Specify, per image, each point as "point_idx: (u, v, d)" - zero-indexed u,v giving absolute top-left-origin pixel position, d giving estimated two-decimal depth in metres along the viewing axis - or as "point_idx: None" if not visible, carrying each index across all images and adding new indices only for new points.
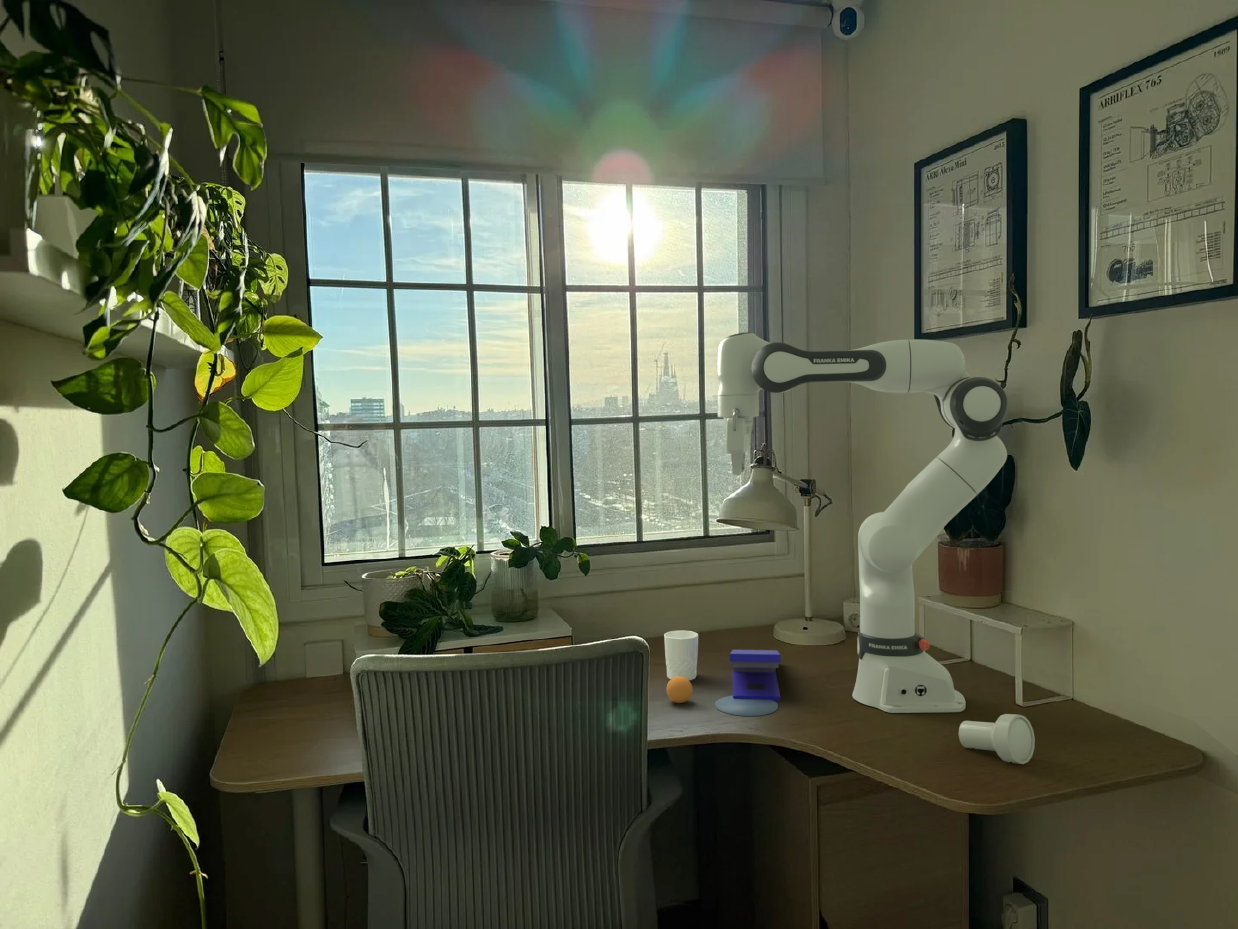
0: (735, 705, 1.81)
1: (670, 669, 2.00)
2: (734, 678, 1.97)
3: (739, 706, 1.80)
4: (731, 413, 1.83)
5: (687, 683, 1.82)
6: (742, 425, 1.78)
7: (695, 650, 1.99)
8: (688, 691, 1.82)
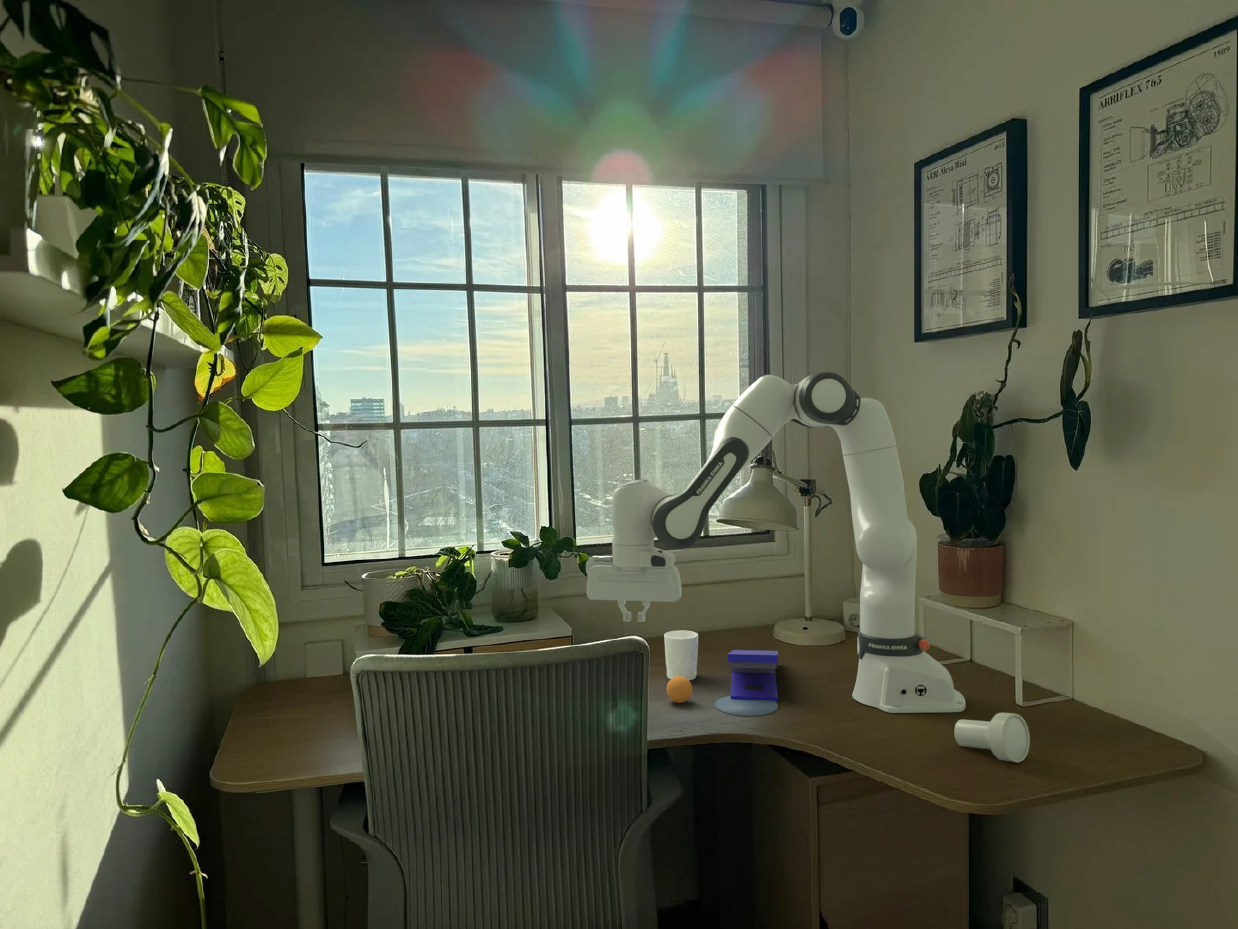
0: (735, 705, 1.81)
1: (670, 669, 2.00)
2: (733, 678, 1.97)
3: (739, 706, 1.80)
4: None
5: (687, 683, 1.82)
6: (589, 572, 1.85)
7: (695, 650, 1.99)
8: (688, 691, 1.82)
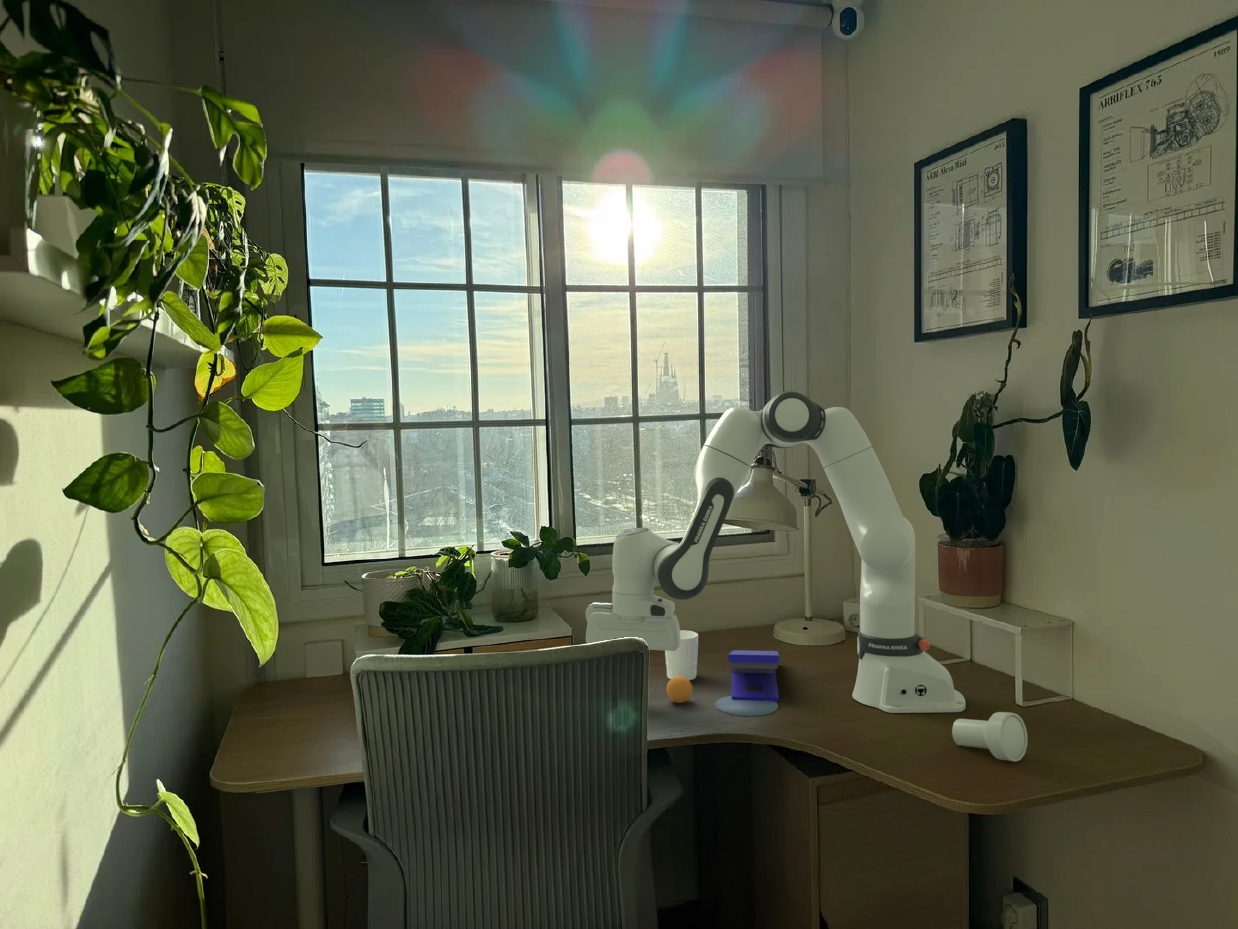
0: (735, 705, 1.81)
1: (670, 669, 2.00)
2: (733, 679, 1.96)
3: (739, 706, 1.80)
4: None
5: (687, 683, 1.82)
6: (588, 619, 1.86)
7: (695, 650, 1.99)
8: (688, 691, 1.82)
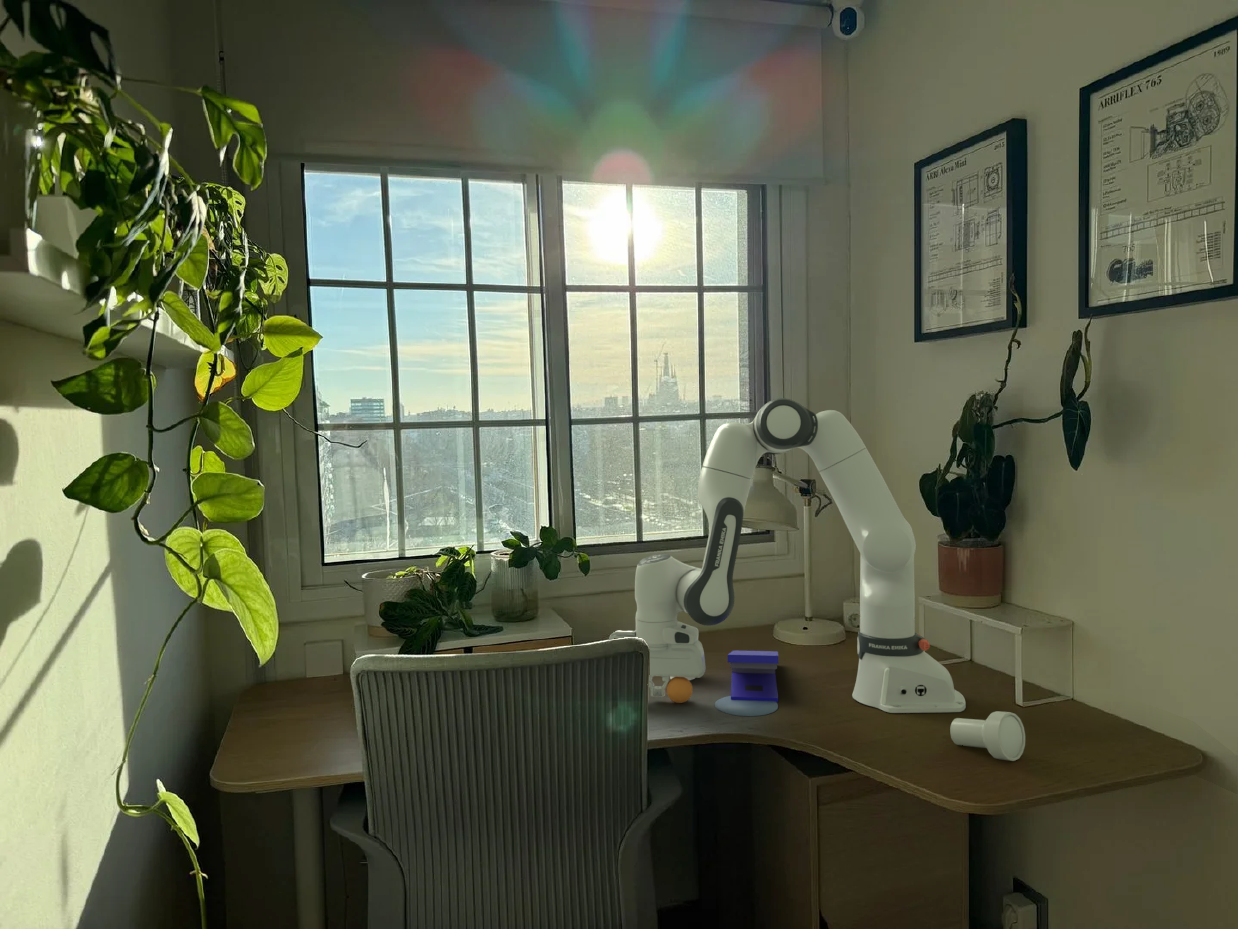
0: (735, 705, 1.81)
1: None
2: (733, 679, 1.96)
3: (739, 706, 1.80)
4: None
5: (687, 683, 1.82)
6: None
7: None
8: (688, 692, 1.82)
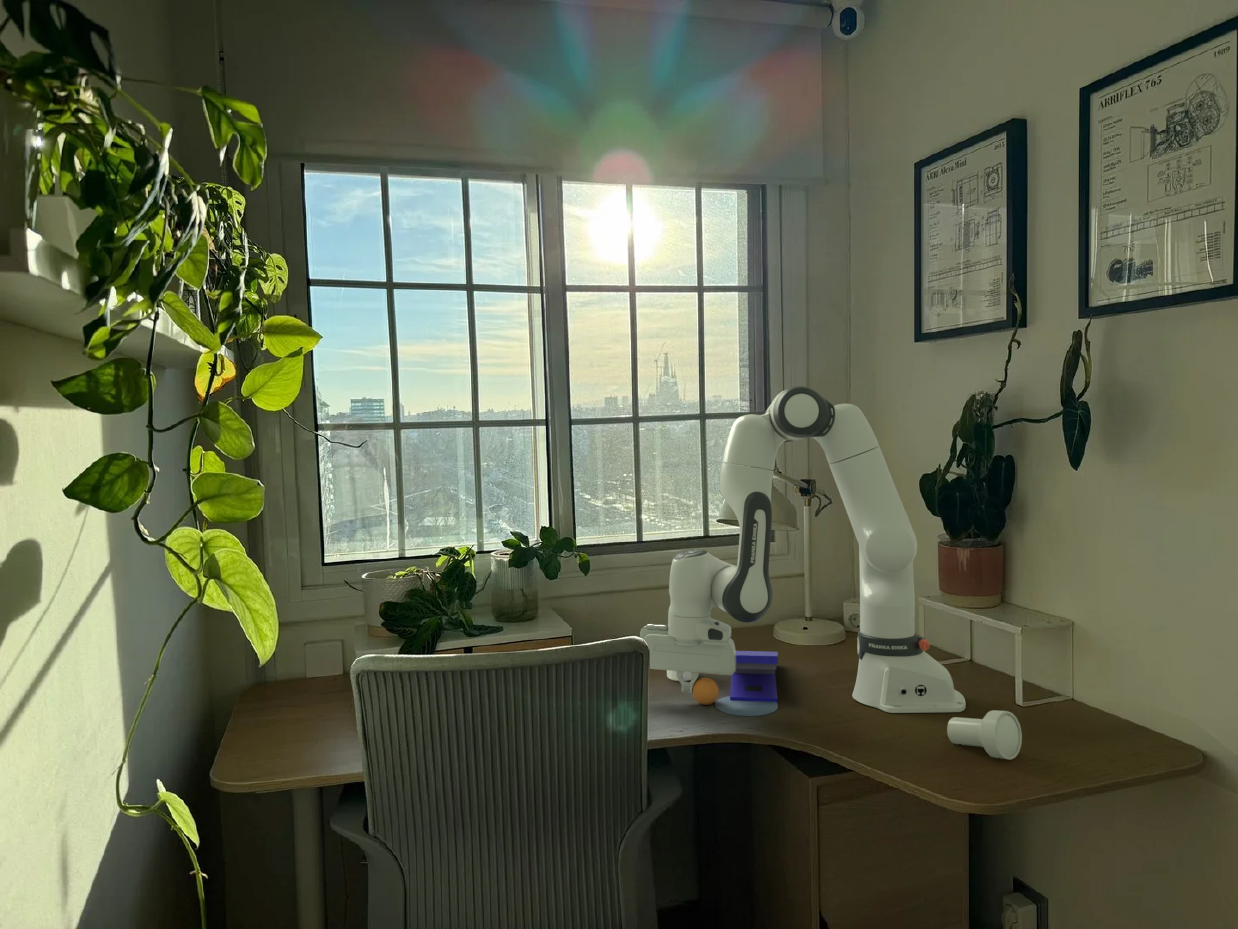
0: (735, 705, 1.81)
1: None
2: (733, 679, 1.96)
3: (739, 706, 1.80)
4: None
5: (717, 693, 1.81)
6: None
7: None
8: (713, 700, 1.80)
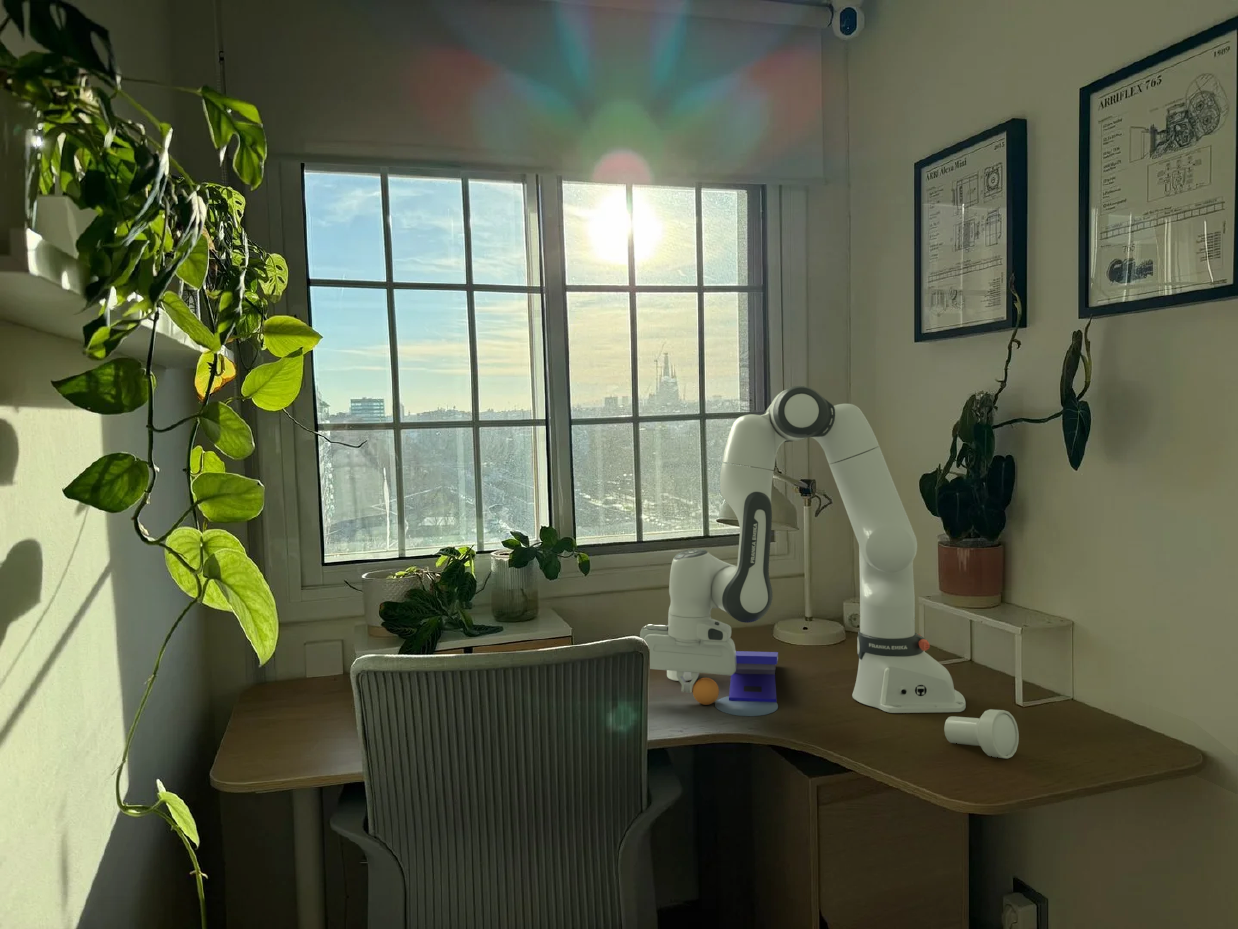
0: (735, 705, 1.81)
1: None
2: (732, 680, 1.96)
3: (739, 706, 1.80)
4: None
5: (717, 693, 1.81)
6: None
7: None
8: (713, 700, 1.80)
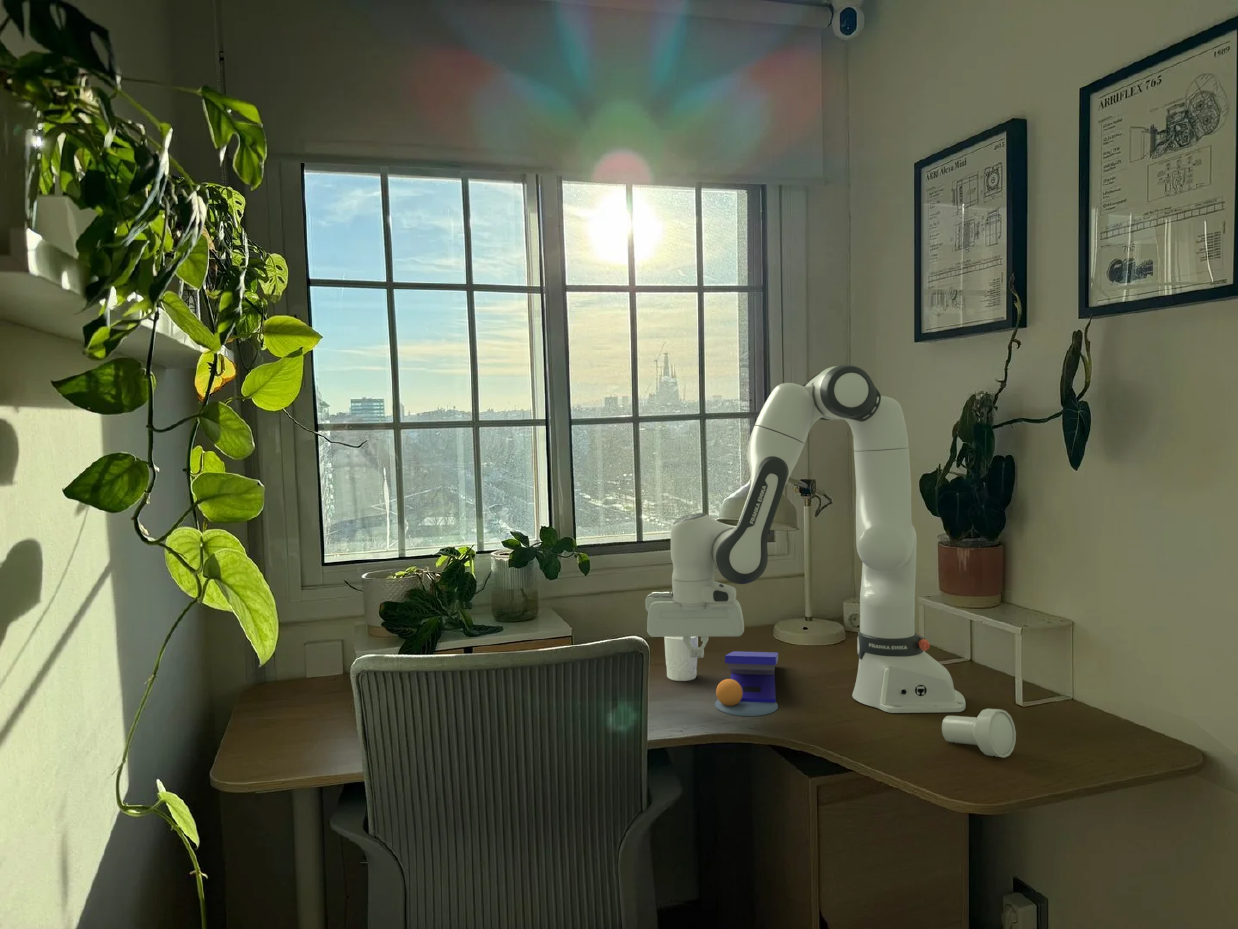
0: (735, 705, 1.81)
1: (670, 669, 2.00)
2: None
3: (739, 706, 1.80)
4: None
5: None
6: (649, 609, 1.82)
7: None
8: (721, 702, 1.80)
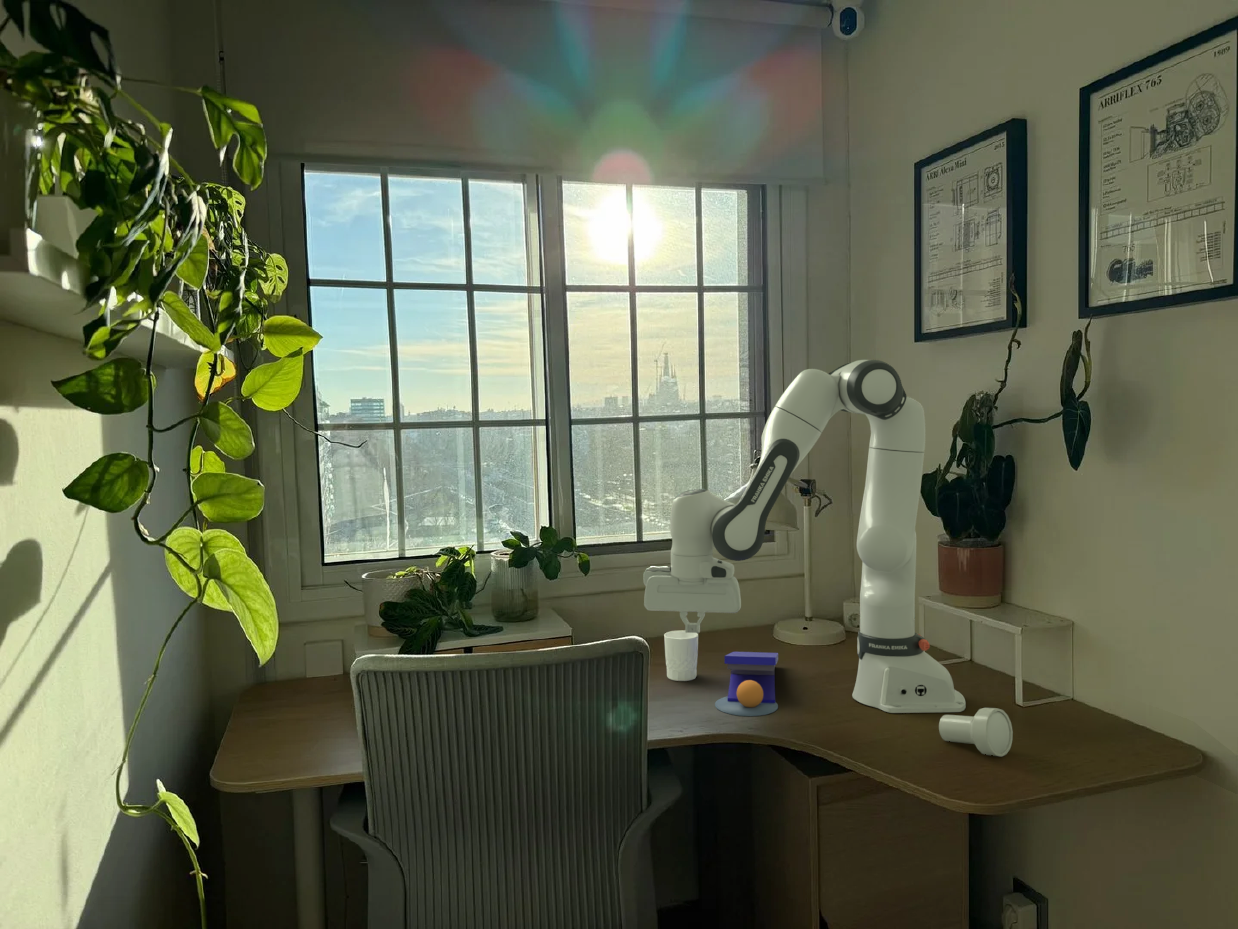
0: (735, 705, 1.81)
1: (670, 669, 2.00)
2: (731, 680, 1.95)
3: (739, 706, 1.80)
4: None
5: (737, 693, 1.80)
6: (647, 583, 1.82)
7: (695, 650, 1.99)
8: (740, 688, 1.79)
